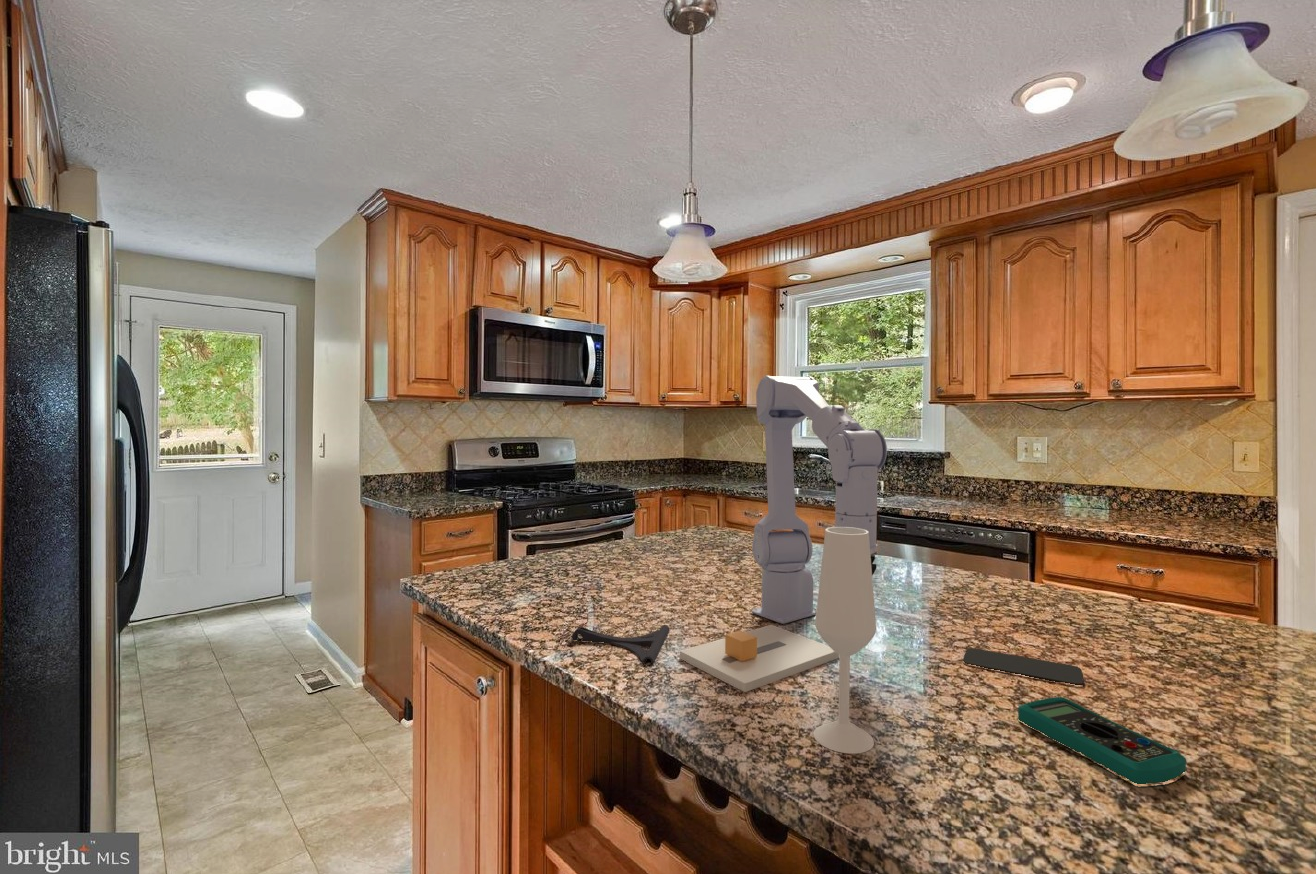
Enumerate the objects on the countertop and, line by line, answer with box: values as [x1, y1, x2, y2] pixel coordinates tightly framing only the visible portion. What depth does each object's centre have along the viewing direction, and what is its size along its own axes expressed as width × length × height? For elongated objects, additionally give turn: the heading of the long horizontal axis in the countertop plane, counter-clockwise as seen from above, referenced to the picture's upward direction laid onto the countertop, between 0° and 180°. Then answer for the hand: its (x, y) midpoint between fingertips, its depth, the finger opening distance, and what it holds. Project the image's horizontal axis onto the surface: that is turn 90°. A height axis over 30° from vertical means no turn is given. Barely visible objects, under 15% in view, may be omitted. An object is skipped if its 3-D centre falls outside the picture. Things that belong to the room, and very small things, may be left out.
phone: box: [962, 647, 1084, 686], centre depth 91 cm, size 7×1×15 cm
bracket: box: [571, 624, 670, 665], centre depth 100 cm, size 14×15×3 cm
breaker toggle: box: [724, 630, 757, 661], centre depth 92 cm, size 3×4×3 cm
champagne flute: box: [813, 526, 877, 755], centre depth 71 cm, size 7×7×24 cm
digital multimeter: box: [1017, 696, 1187, 784], centre depth 69 cm, size 7×15×3 cm, turn 18°
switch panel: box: [679, 624, 839, 693], centre depth 94 cm, size 20×14×1 cm
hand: (854, 606), depth 90 cm, fingers closed on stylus, 3 cm apart
